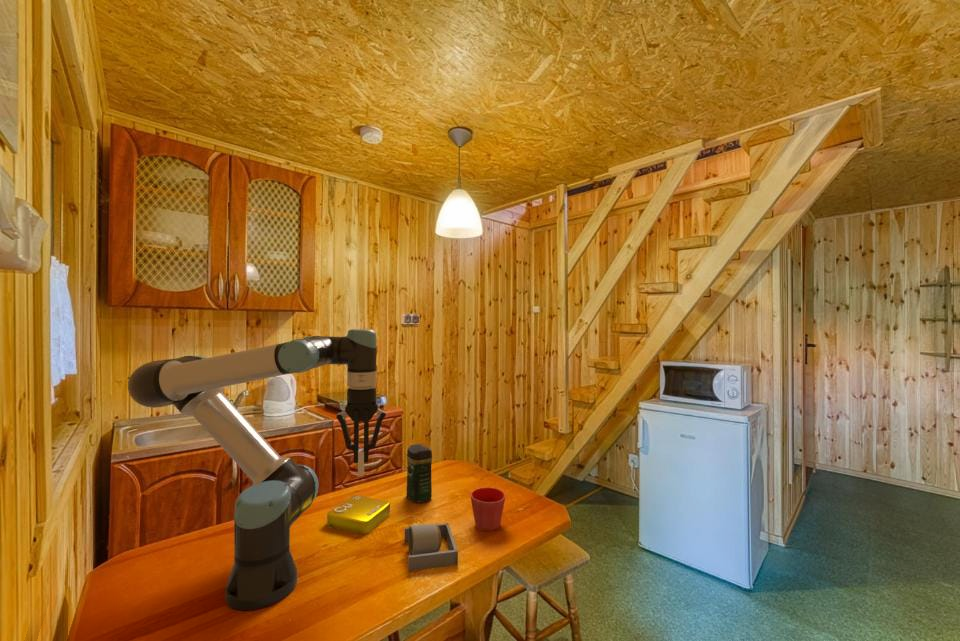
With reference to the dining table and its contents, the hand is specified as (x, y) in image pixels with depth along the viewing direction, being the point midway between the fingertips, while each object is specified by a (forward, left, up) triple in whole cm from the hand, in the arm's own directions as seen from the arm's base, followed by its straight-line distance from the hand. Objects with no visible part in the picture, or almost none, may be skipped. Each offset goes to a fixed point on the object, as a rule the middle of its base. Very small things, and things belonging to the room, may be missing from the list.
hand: (361, 474), depth 111 cm
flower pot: (+38, +9, -23) cm, 45 cm away
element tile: (-1, +21, -23) cm, 31 cm away
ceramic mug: (+17, 0, -23) cm, 28 cm away
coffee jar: (+19, +33, -23) cm, 44 cm away
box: (+19, -2, -22) cm, 29 cm away
